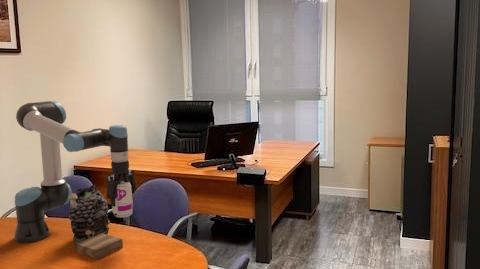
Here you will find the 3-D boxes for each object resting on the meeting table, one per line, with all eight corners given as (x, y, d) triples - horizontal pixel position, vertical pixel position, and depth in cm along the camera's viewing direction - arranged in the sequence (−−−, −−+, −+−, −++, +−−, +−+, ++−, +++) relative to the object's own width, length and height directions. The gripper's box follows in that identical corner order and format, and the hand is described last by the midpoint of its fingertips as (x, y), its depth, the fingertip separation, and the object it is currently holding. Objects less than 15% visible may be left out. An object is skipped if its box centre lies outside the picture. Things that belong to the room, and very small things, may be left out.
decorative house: (89, 247, 190) (84, 193, 187) (63, 243, 196) (58, 191, 192) (117, 231, 210) (114, 182, 206) (93, 227, 215) (89, 180, 211)
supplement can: (127, 218, 185) (126, 185, 183) (110, 217, 187) (108, 184, 184) (135, 212, 193) (134, 180, 191) (118, 211, 195) (117, 179, 192)
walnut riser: (76, 252, 185) (75, 243, 185) (102, 241, 197) (101, 233, 196) (97, 259, 178) (96, 250, 177) (122, 247, 190) (122, 238, 189)
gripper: (107, 166, 175) (110, 218, 179) (143, 157, 193) (145, 204, 197) (94, 164, 179) (98, 215, 183) (131, 155, 197) (133, 202, 200)
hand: (122, 209), depth 190 cm, fingers closed on supplement can, 8 cm apart
